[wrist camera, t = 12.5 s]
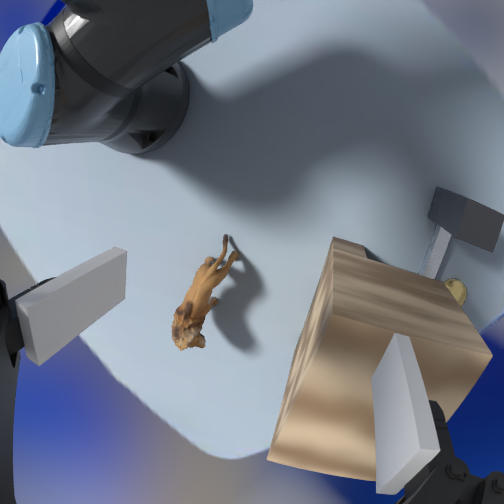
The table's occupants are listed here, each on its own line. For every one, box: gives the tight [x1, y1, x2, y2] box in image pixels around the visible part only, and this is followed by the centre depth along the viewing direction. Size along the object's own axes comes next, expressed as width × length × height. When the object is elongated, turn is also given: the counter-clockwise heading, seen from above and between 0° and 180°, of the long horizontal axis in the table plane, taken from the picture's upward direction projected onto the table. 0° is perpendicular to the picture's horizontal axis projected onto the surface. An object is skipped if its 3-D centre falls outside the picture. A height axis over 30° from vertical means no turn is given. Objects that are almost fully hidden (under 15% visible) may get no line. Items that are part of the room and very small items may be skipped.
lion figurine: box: [172, 234, 239, 351], centre depth 41 cm, size 15×5×9 cm, turn 163°
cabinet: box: [267, 237, 493, 481], centre depth 32 cm, size 18×15×20 cm
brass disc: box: [443, 278, 467, 306], centre depth 36 cm, size 4×4×1 cm
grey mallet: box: [419, 187, 504, 279], centre depth 32 cm, size 22×5×10 cm, turn 167°
